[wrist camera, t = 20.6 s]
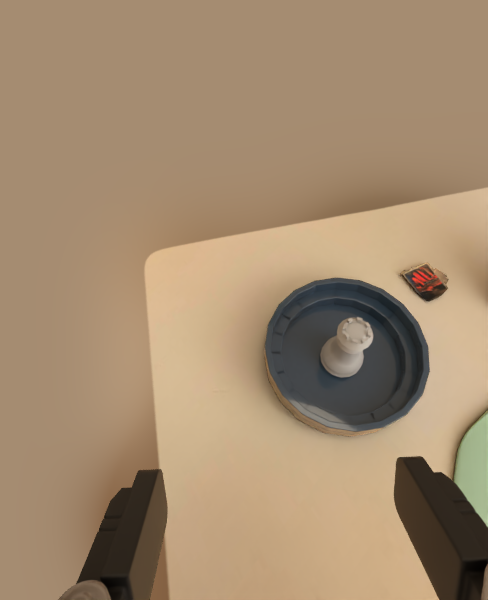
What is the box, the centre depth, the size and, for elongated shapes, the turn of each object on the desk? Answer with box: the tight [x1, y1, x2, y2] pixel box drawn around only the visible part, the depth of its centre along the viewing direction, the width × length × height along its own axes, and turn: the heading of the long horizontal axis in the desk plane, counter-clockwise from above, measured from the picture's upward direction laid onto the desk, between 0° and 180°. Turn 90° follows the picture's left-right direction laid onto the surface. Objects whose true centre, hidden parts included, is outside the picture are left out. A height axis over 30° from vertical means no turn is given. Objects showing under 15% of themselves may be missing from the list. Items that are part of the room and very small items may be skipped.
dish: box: [264, 278, 430, 437], centre depth 39 cm, size 16×16×4 cm
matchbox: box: [401, 263, 448, 301], centre depth 44 cm, size 5×5×1 cm
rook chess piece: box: [320, 317, 373, 377], centre depth 36 cm, size 4×4×8 cm
